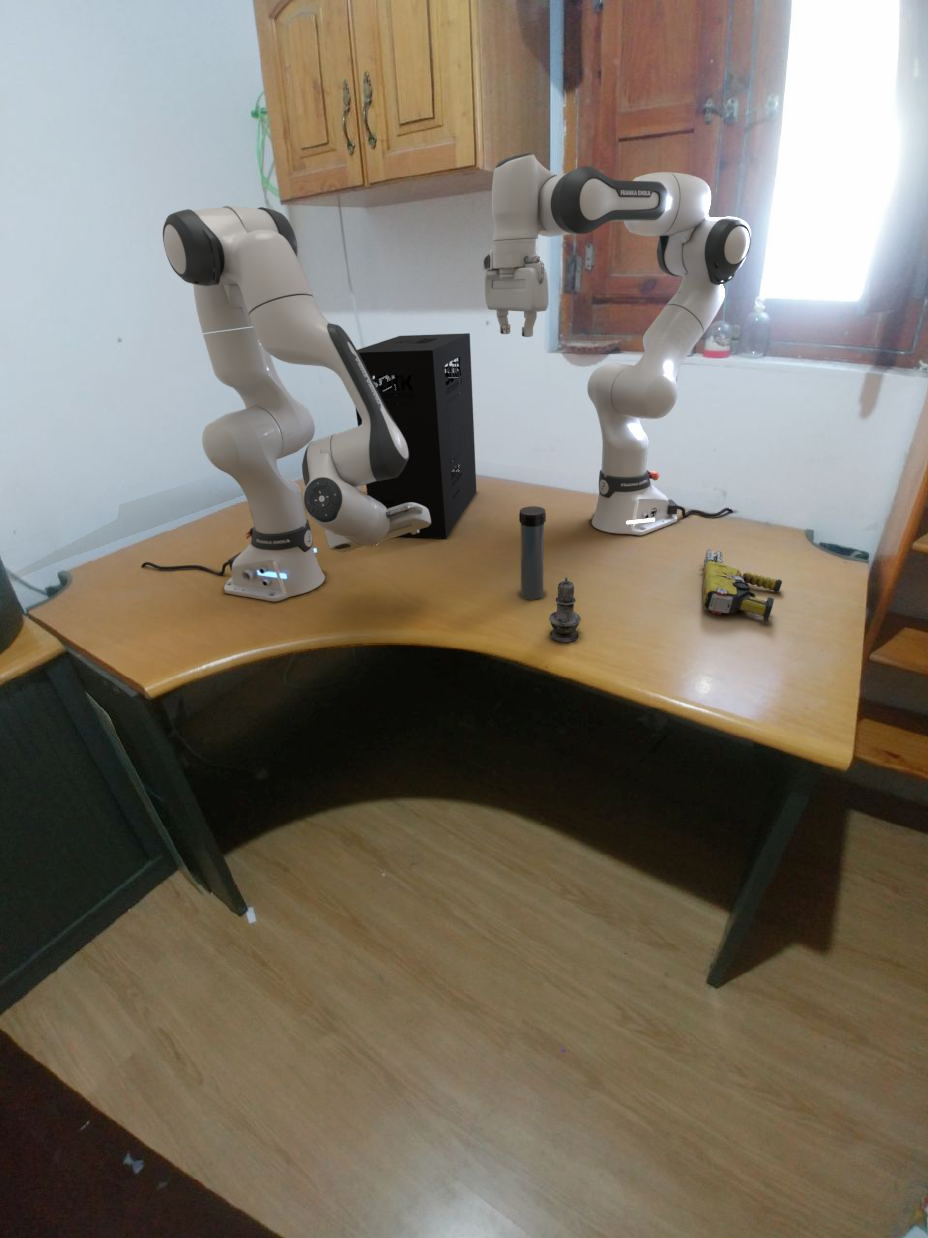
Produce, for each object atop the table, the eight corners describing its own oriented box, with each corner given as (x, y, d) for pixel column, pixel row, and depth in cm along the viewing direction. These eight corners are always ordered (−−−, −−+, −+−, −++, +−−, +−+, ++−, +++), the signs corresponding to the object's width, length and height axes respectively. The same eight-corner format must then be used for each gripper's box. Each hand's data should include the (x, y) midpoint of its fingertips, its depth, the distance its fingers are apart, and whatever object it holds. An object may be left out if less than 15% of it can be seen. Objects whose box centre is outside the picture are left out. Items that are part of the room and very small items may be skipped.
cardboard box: (446, 538, 156) (432, 350, 134) (372, 535, 161) (348, 352, 138) (476, 491, 188) (469, 333, 165) (414, 490, 192) (399, 335, 170)
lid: (524, 527, 117) (524, 516, 116) (515, 519, 121) (515, 508, 120) (549, 524, 118) (549, 512, 117) (539, 515, 122) (539, 504, 121)
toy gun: (779, 558, 129) (706, 546, 133) (794, 606, 109) (707, 591, 113) (773, 578, 131) (701, 566, 135) (786, 629, 111) (701, 613, 115)
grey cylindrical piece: (525, 601, 125) (525, 518, 116) (517, 591, 129) (517, 510, 120) (546, 597, 126) (548, 514, 117) (538, 587, 130) (539, 507, 121)
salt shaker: (579, 643, 110) (582, 585, 104) (547, 641, 111) (548, 583, 105) (580, 627, 115) (583, 570, 109) (549, 625, 116) (551, 569, 110)
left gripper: (412, 488, 111) (437, 507, 124) (316, 520, 116) (350, 535, 129) (419, 520, 110) (444, 536, 123) (322, 551, 115) (355, 563, 129)
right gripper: (557, 254, 111) (556, 336, 118) (505, 258, 127) (506, 331, 134) (528, 255, 109) (527, 339, 116) (478, 260, 125) (481, 333, 132)
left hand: (395, 536), depth 126 cm, fingers open, 8 cm apart
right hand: (516, 335), depth 125 cm, fingers open, 8 cm apart
